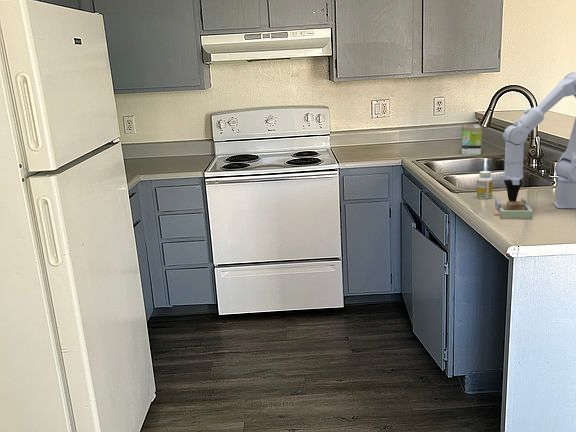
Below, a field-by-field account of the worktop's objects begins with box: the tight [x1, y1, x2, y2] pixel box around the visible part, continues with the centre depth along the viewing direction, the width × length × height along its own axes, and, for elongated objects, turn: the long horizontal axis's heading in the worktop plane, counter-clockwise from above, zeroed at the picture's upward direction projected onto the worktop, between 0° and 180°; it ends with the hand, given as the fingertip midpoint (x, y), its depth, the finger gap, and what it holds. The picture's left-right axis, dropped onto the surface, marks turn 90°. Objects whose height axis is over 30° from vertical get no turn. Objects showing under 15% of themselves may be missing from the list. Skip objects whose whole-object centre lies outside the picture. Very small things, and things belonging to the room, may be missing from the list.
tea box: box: [460, 124, 483, 156], centre depth 303 cm, size 15×10×15 cm
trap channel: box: [492, 197, 533, 220], centre depth 188 cm, size 12×18×2 cm
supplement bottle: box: [476, 170, 494, 200], centre depth 208 cm, size 5×5×10 cm
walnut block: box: [506, 200, 525, 211], centre depth 183 cm, size 4×4×4 cm
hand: (512, 201), depth 191 cm, fingers closed
